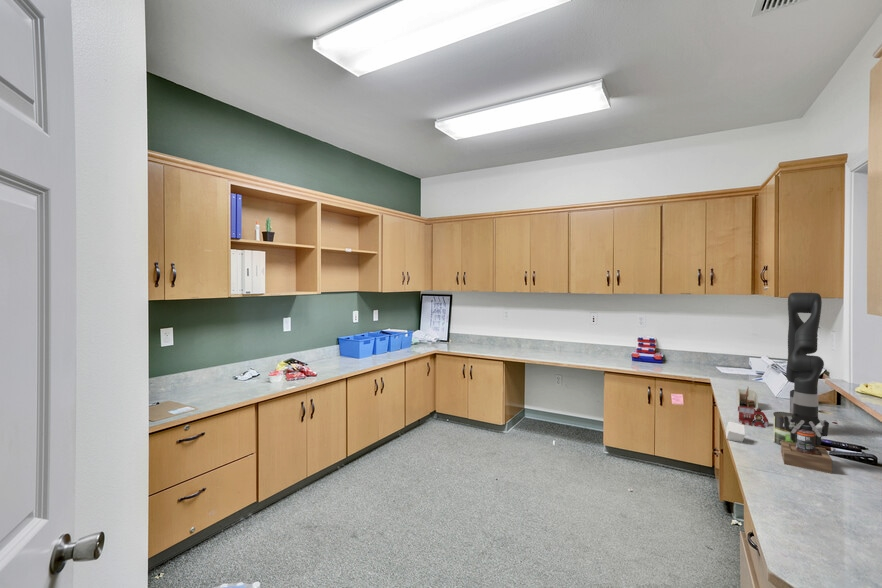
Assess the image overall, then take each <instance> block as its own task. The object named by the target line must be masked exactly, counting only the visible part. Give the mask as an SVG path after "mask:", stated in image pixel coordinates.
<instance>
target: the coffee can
mask: <svg viewBox="0 0 882 588" xmlns="http://www.w3.org/2000/svg"><path fill="white" fill-rule="evenodd" d="M772 415H773V430H772V431H773V437H772V439H773V443H775V444H776V445H778V446H781V441H785V442H791V443H795V442H793V441H792V440H791V439H790V432H789V431H786V430H785V428H784V420H783V416H784V415H786V416H792V415H793V414H792V413H790V412H785V411H774V412H773V414H772ZM794 423H795V422H794V420H793V419H791V421H790V422H789V428H792V426H793V424H794ZM795 434H796V432H795Z"/></svg>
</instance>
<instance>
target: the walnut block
mask: <svg viewBox="0 0 882 588" xmlns="http://www.w3.org/2000/svg"><path fill="white" fill-rule="evenodd" d="M780 453H781V457H782V462H783V464H784V465H786V466H791V467H796V468H800V469H801V468H802V469H806V470H810V471H815V472H816V471H817V472H821V473H825V474H831V475H832V474H833V458H832V457H831V456H830V454H829V452H828V450H827V449H826V448H825V447H819V446H816V453H815V454H806V453H802V452H799V451H797V449H796V443H791V442H785V441H781V445H780Z"/></svg>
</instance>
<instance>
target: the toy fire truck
mask: <svg viewBox="0 0 882 588" xmlns="http://www.w3.org/2000/svg"><path fill="white" fill-rule="evenodd" d="M737 412H738V422H739V424H742V425H744V426H750V427H752V425H753V426H754V427H757V428H763V429H764V428H765V427H769V420H768V418H767V416H766V414H765V413H764V412H763V411H762V408H759V407H758V408H757V409H756V408H755V407H747V406H742V405H740V406H739V407H738V406H737Z"/></svg>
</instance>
